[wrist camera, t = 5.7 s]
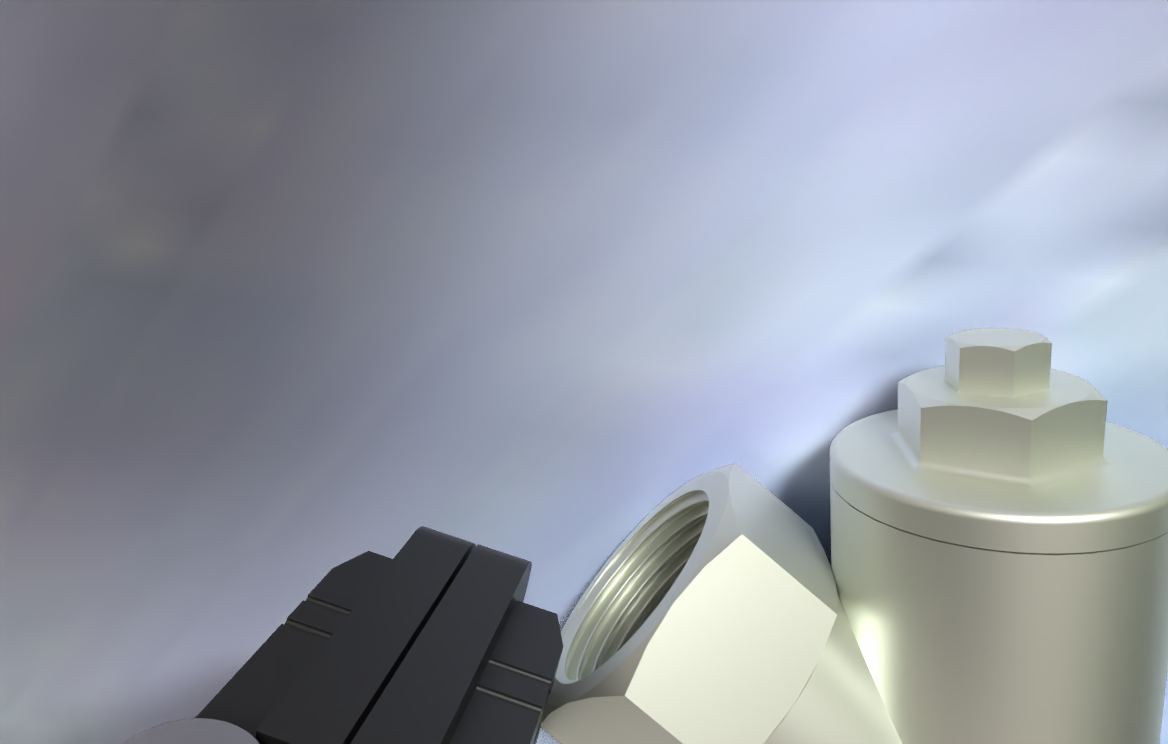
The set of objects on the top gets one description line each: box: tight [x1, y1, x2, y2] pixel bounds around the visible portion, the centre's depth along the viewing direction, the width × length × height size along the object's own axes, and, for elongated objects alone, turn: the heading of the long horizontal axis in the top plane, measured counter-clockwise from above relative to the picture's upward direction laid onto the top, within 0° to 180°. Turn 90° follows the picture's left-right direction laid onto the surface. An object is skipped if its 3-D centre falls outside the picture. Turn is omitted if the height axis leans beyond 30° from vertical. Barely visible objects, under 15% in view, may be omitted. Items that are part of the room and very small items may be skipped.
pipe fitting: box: [540, 328, 1168, 744], centre depth 9 cm, size 8×4×7 cm
